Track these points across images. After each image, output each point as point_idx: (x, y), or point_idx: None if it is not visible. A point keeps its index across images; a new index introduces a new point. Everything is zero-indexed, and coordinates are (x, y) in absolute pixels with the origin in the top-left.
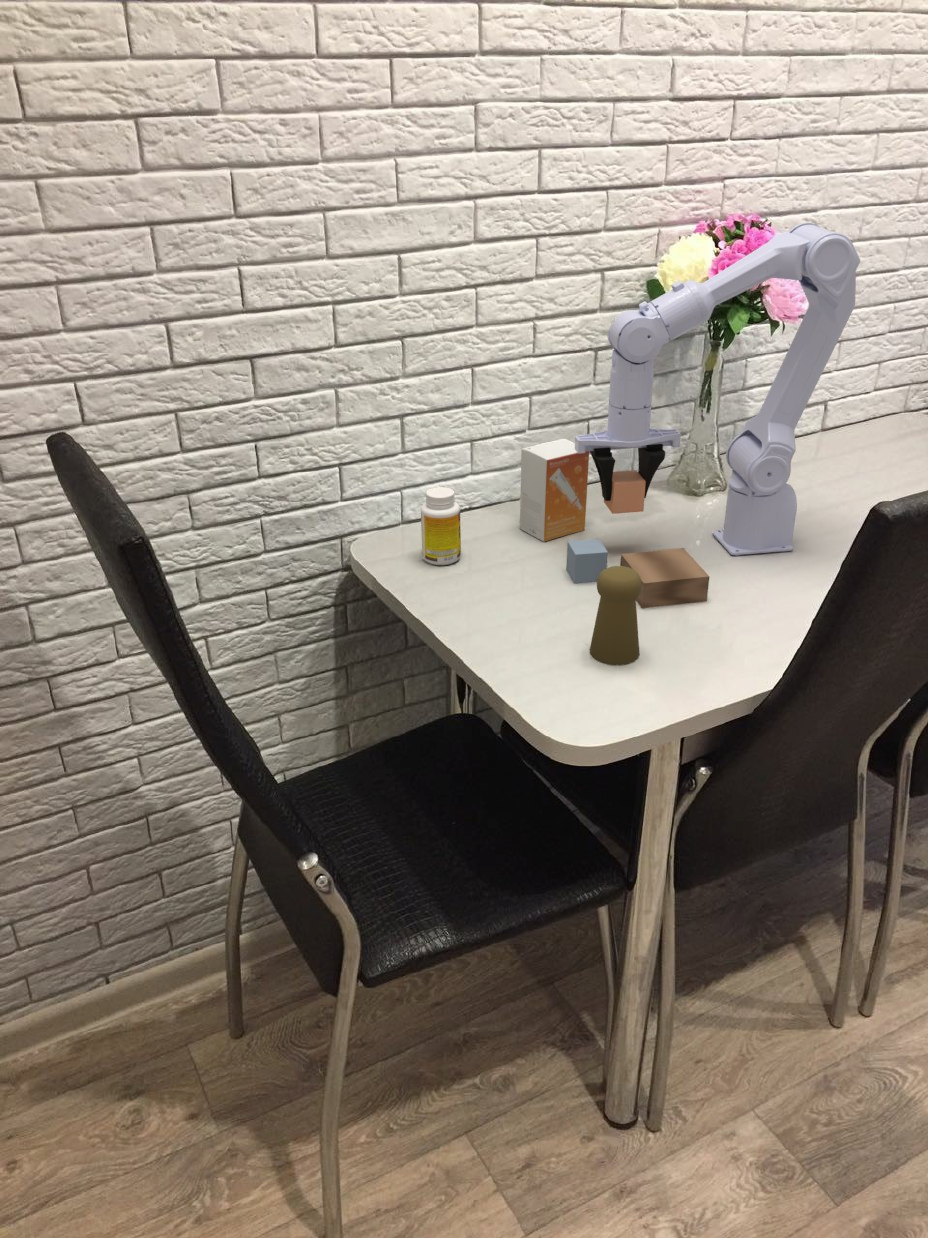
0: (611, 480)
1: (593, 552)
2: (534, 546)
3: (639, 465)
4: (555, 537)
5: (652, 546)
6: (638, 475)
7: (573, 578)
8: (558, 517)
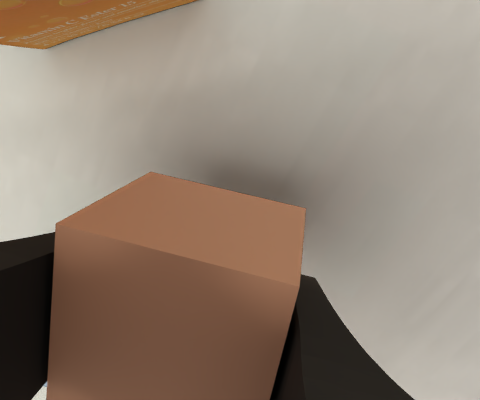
0: (29, 397)
1: (45, 383)
2: (12, 65)
3: (293, 373)
4: (83, 34)
5: (362, 213)
6: (258, 381)
7: None
8: (46, 24)
